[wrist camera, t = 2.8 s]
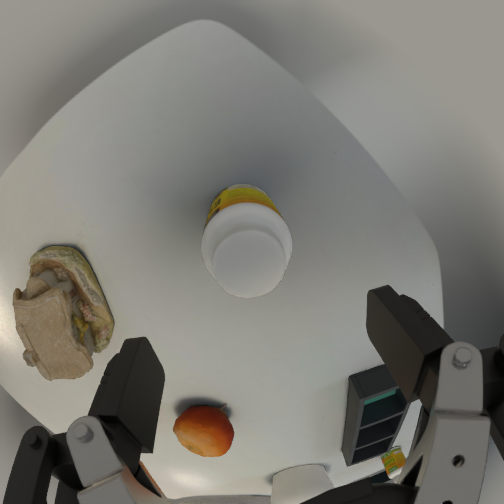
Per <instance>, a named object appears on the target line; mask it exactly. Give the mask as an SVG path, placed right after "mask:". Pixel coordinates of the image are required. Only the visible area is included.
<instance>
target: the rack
mask: <svg viewBox="0 0 504 504" xmlns="http://www.w3.org/2000/svg"><path fill="white" fill-rule="evenodd" d="M410 404H411V403H409V404H408V402H407V400H406V398H405V397H404V395H403V393H402V391H401V390H400V388H399V386H398V385H397V383H396V381H395V380H394V378H393V376H392V375H391V373H390V371H389V370H388V368H387V366H386V365H385V364H384V365H381V366H378V367H375V368H373V369H370V370H367V371H364V372H360V373H357V374H354V375H351V376H349V389H348V401H347V411H346V421H345V429H344V437H343V445H342V453H343V456H344V459H345V462H346V465H347V467H348V466H351V465H354V464H357V463H360V462H363V461H366V460H369V459H372V458H374V457H377V456H380V455H382V454H385V453H387V452H389V451H390V449H391V447H392V445H393V443H394V441H395V439H396V437H397V435H398V433H399V430H400V428H401V426H402V423H403V421H404V419H405V416H406V414H407V411H408V409H409V406H410Z"/></svg>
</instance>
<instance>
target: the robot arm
mask: <svg viewBox="0 0 504 504" xmlns="http://www.w3.org/2000/svg"><path fill="white" fill-rule="evenodd" d="M366 328H367V333H368V336H369V339H370V340H371V342H372V344H373V345H374V347H375V348H376V350H377V352H378V353H379V355H380V357H381V358H382V360H383V361H384V363H385V365H386V366H387V368H388V370H389V371H390V373H391V375H392V376H393V378H394V380H395V381H396V383H397V385H398V386H399V388H400V390H401V391H402V393H403V395H404V397H405V398H406V400H407V402H408V404H409V403H411V402H413V401H415V400H418V399H420V401H421V403H422V406H421V409H420V414H419V418H418V422H417V427H416V430H415V434H414V438H413V442H412V445H411V449H410V452H409V455H408V457H407V460H406V462H405V464H404V466H403V468H402V471H401V473H400V476H399V478H398V481H397V483H375V484H371V481H370V478H369V477H368V478H365V479H362V480H360V481H357V482H354V483H350V484H347V485H344V486H341V487H337V488H334V489H330V490H328V491H326V492H324V493H321V494H319V495H317V496H315V497H313V498H311V499H309V500H306V501H304V502H302V503H300V504H478V502H479V498H480V494H481V489H482V484H483V479H484V474H485V469H486V462H487V455H488V447H489V438H490V435H491V437H492V439H493V441H494V443H495V444H496V446H497V448H498V450H499V452H500V454H501V456H502V458H503V460H504V335H502V337H501V339H500V341H499V344H498V346H496V347H492V348H487V349H483V350H478V349H477V348H476V347H475V346H473V345H472V344H469V343H466V342H454V341H453V340H452V339H451V338H450V336H449V335H448V334H447V333H446V332H445V331H444V330H443V329H442V328H441V327H440V325H439V324H438V323H437V322H436V321H435V320H434V319H433V318H432V317H430V315H429V314H428V313H427V312H426V311H425V310H423V308H422V306H421V305H420V304H419V303H418V302H417V301H416V300H414V299H412V298H410V297H408V296H406V295H404V294H403V295H400V296H399V295H398V294H397V293H396V292H395V291H394V289H393V288H392V287H391V286H389V285H386V286H382V287H379V288H375V289H372V290H369V291H368V294H367V317H366ZM100 383H101V384H100V385H99V387H98V389H97V392H96V394H95V397H94V400H93V402H92V405H91V408H90V410H89V413H88V416H83V417H80V418H78V419H76V420H75V421H74V422H73V423H72V424H71V425H70V427H69V428H68V431H67V432H65V433H60V434H55V435H51V434H50V433H49V432H48V431H47V430H46V429H45V428H43V427H42V426H34V427H32V428H30V429H29V430H28V431H26V433H25V434H24V436H23V438H22V440H21V443H20V446H19V449H18V451H17V455H16V457H15V461H14V464H13V467H12V470H11V474H10V477H9V480H8V484H7V488H6V492H5V496H4V500H3V504H47V500H46V498H47V492H48V488H49V483H50V479H51V475H52V476H54V477H55V478H57V479H58V480H59V483H58V488H57V493H56V498H55V504H172V503H171V502H170V501H169V500H168V499H167V497H166V496H165V495H164V493H163V492H162V491H161V489H160V488H159V486H158V485H157V484H156V482H155V481H154V479H153V478H152V477H151V475H150V474H149V472H148V471H147V469H146V468H145V466H144V465H143V463H142V462H141V461H140V455H141V453H153V448H154V441H155V435H156V428H157V422H158V416H159V410H160V405H161V399H162V394H163V388H164V383H165V374H164V370H163V367H162V365H161V363H160V361H159V359H158V357H157V355H156V354H155V352H154V350H153V348H152V346H151V344H150V342H149V340H148V339H147V338H146V337H138V338H130V339H126V340H125V341H124V343H123V345H122V348H121V350H120V353H116V355H115V356H114V357H113V358H112V359H111V360H110V361H109V363H108V364H107V367H106V369H105V372H104V376H103V377H102V379H101V382H100Z"/></svg>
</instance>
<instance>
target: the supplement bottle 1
mask: <svg viewBox="0 0 504 504" xmlns="http://www.w3.org/2000/svg"><path fill="white" fill-rule="evenodd" d="M201 253H202V258H203V261H204V264H205V266H206V268H207V269H208V271H209V272H210V273H211V275H212V276H213V277H214V278H215V280H216V281H217V283H218V284H219V286H220V287H221V288H222V289H224V290H225V291H226V292H228V293H229V294H231V295H234V296H237V297H241V298H255V297H259V296H262V295H265V294H267V293H269V292H270V291H272V290H273V289H274V288H275V287H276V286H277V285H278V284H279V283H280V282H281V280H282V278H283V276H284V274H285V270H286V267H287V265H288V263H289V261H290V258H291V254H292V237H291V234H290V231H289V229H288V226H287V224H286V223H285V221H284V219H283V218H282V216H281V215H280V213H279V212H278V210H277V209H276V207H275V205H274V204H273V202H272V201H271V199H270V198H269V196H268V195H267V194H266V193H265V192H264V191H263V190H261V189H259V188H258V187H255V186H253V185H249V184H236V185H232V186H230V187H227V188H225V189H224V190H222V191H221V192H220V193H219V194H218V195H217V196H216V197H215V199H214V200H213V202H212V205H211V207H210V210H209V214H208V217H207V221H206V224H205V228H204V232H203V235H202V241H201Z"/></svg>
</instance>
